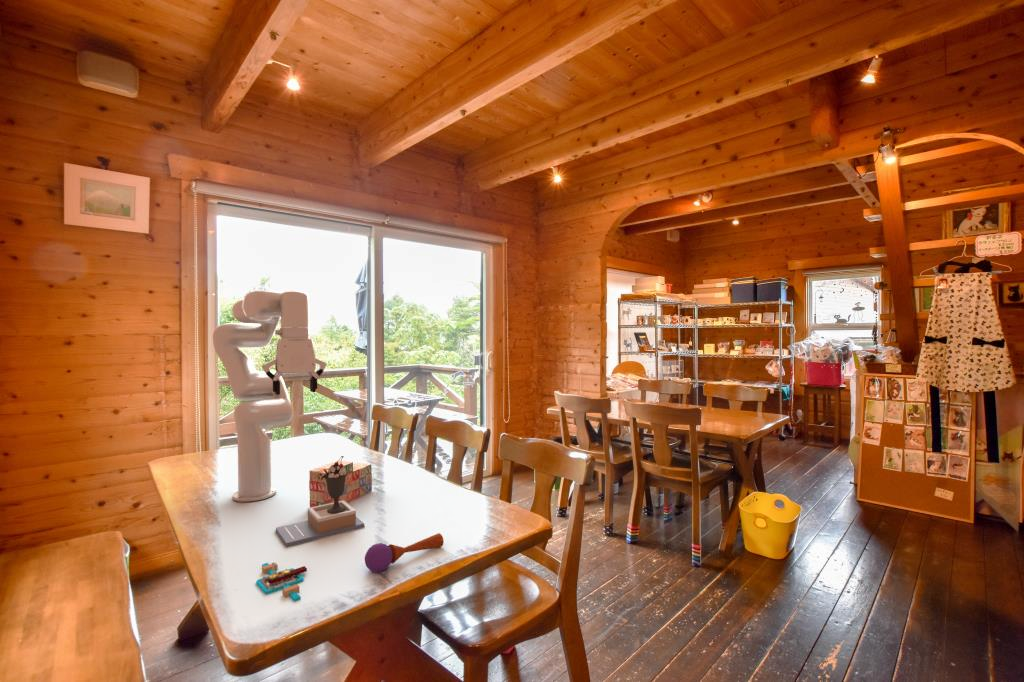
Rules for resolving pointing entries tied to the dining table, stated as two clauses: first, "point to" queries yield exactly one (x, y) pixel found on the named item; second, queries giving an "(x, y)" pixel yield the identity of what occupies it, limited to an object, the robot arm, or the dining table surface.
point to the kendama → (396, 552)
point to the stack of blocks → (354, 487)
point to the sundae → (335, 485)
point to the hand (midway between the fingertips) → (295, 393)
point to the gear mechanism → (277, 579)
